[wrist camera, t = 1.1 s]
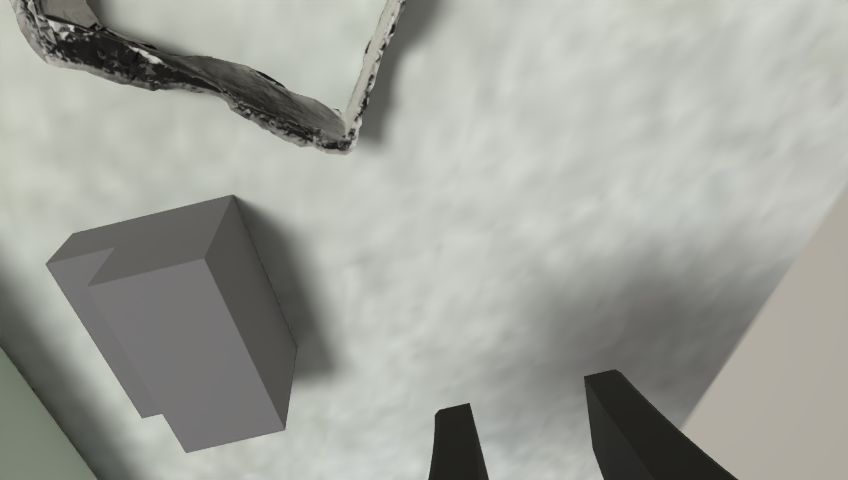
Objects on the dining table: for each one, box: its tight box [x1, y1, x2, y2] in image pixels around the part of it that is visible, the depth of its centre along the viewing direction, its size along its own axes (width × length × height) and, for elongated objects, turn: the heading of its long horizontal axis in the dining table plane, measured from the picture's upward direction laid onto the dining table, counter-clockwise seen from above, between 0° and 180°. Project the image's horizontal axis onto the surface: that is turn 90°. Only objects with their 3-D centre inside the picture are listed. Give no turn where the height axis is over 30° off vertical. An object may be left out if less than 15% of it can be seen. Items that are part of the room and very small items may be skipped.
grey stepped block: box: [46, 195, 297, 453], centre depth 18 cm, size 6×5×4 cm
